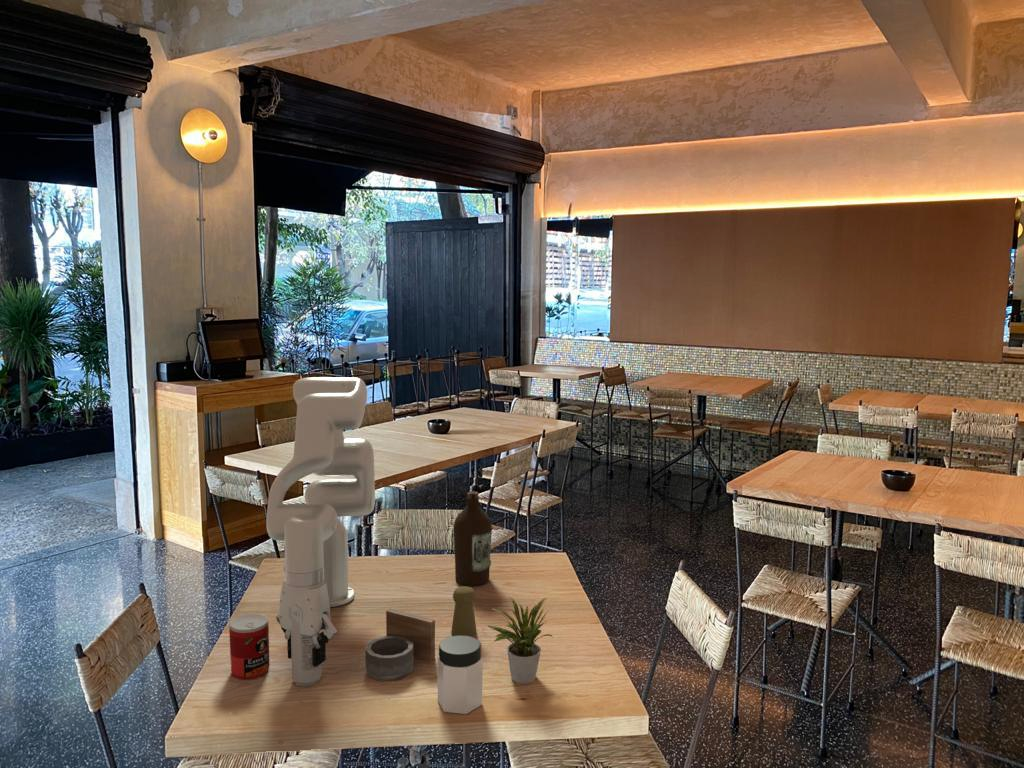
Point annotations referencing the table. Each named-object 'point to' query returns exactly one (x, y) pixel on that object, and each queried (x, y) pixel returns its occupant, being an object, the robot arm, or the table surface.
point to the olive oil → (472, 543)
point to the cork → (464, 612)
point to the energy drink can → (303, 658)
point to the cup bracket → (400, 646)
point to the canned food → (249, 646)
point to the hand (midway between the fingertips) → (306, 659)
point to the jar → (460, 674)
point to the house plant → (522, 642)
